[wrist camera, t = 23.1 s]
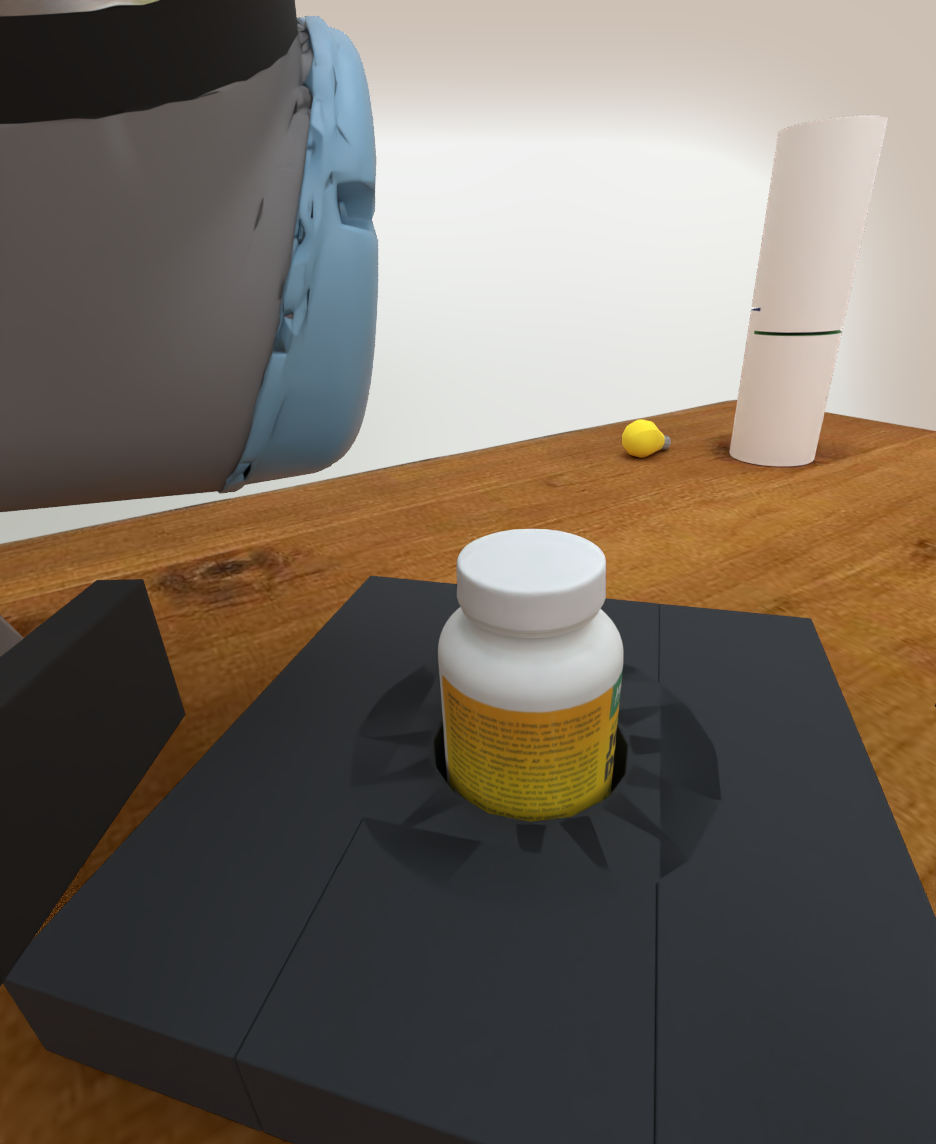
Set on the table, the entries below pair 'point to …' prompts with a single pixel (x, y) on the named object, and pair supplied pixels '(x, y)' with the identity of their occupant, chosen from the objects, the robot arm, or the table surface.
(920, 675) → the table surface
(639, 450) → the light bulb
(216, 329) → the robot arm
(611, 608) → the stand
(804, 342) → the cylindrical container
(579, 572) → the supplement bottle
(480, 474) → the table surface
